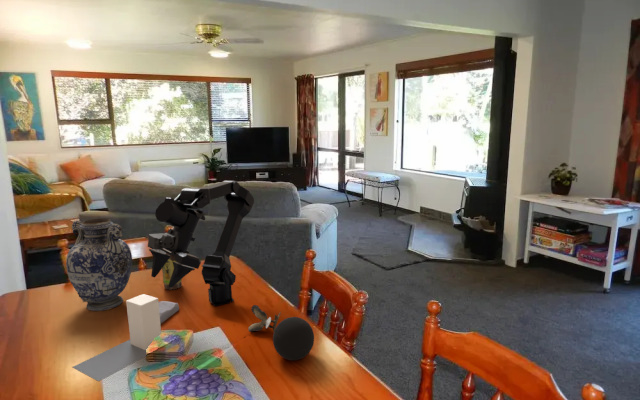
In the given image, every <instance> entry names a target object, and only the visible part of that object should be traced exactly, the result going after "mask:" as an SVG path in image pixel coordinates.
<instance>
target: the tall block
mask: <svg viewBox="0 0 640 400" xmlns="http://www.w3.org/2000/svg"><path fill="white" fill-rule="evenodd" d="M125 302H126V303H125V304H126V311H127V313H126V314H127V320H128V321H127V322H128V331H129V340H130V341H131V344H132V345H134V346H136V347H139V348H141V349H143V350H146V349H147V348H148V346H149V345H150V344H151V343H152V341H153V340H154V338H155V337H157V336H159V335H160V334H161V331H162V327H161V324H160V314H159V303H158V302H159V298H158V297H155V296H152V295H148V294H145V293H142V294H139V295H138V296H137V295H136V296H134V297H132V298H129V299H127V300H125Z"/></svg>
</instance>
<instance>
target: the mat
mask: <svg viewBox="0 0 640 400" xmlns="http://www.w3.org/2000/svg"><path fill="white" fill-rule="evenodd" d="M145 357H147V356H146V350H143V349H141V348H139V347H136V346H134V345H132V344H131V341H130V339H127V340H126V341H124V342H122V343H119V344H117V345H115V346H113V347H111V348H109V349H107V350H105V351H102V352H101V353H99V354H97V355H94V356H92V357H90V358H88V359H85V360H84V361H82V362H80V363H78V364H76V365H74V366H72V368H73V369H75V370H77V371H78V372H80V373H82V374H84V375H86V376H88V377H90V378H91V379H93V380H95V381H97V382H100V381H102V380H104V379H106V378H108V377H110V376H112V375H113V374H115V373H117V372H119V371H121V370H123V369H125V368H126V367H128V366H130V365H133V364H134V363H135V362H138V361H140V360H141V359H143V358H145Z"/></svg>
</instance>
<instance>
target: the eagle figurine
mask: <svg viewBox="0 0 640 400" xmlns="http://www.w3.org/2000/svg"><path fill="white" fill-rule="evenodd" d="M251 312H252V314H253V315H255V317H256V318H257V319H259V320H260V321H259V322H255V323H252V324H251V325H250V326H248V332H255V331H257V332H258V331H261V330H263V328H264V327H265V329H268V328H270V329H272V331H273V332H274V331H275V329H276V327H277V325H278V321H279V319H280V317H281V314H282V311H280V312H279V313H278V314H277V315H276V314H274V319H272V317H271V316H269V317H268V315H267V313H266V311H263V310H262V309H261V308H260V307H259V305H256V304H254V305H252V307H251ZM271 323H273V325H270V324H271Z"/></svg>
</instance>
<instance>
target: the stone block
mask: <svg viewBox="0 0 640 400" xmlns="http://www.w3.org/2000/svg"><path fill="white" fill-rule="evenodd" d="M158 303H159V314H160V325H161V324H163V323H164V322H165V321H166V320H168V319H169V318H171V317H172V316H173V315H174V314H175V313H177V312H178V311H179V310H180V306H179V303H178V302H173V301H169V300H168V301H167V300H166V301H165V300H161V301H158Z"/></svg>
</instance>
